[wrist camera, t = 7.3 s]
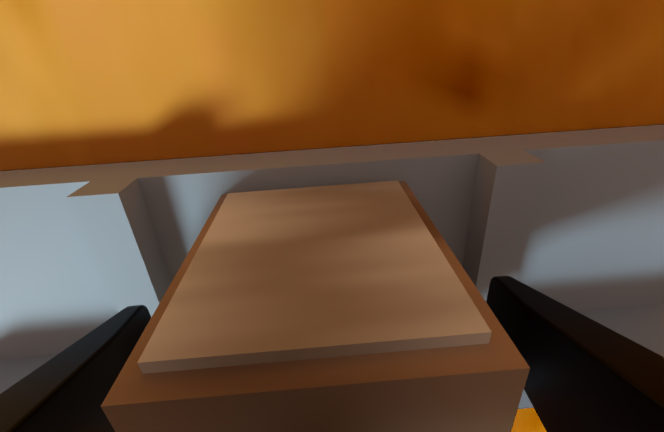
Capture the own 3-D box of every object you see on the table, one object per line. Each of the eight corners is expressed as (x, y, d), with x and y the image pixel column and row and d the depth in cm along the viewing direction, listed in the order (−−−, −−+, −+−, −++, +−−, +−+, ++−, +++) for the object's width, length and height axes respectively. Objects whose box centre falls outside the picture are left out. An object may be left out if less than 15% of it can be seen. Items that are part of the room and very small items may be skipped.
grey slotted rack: (695, 122, 11) (889, 163, 7) (619, 300, 14) (724, 390, 10) (-99, 178, 10) (-323, 254, 6) (18, 351, 13) (-87, 463, 10)
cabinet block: (405, 174, 9) (582, 425, 3) (399, 318, 12) (494, 617, 6) (219, 188, 9) (44, 476, 3) (252, 330, 12) (188, 648, 6)
